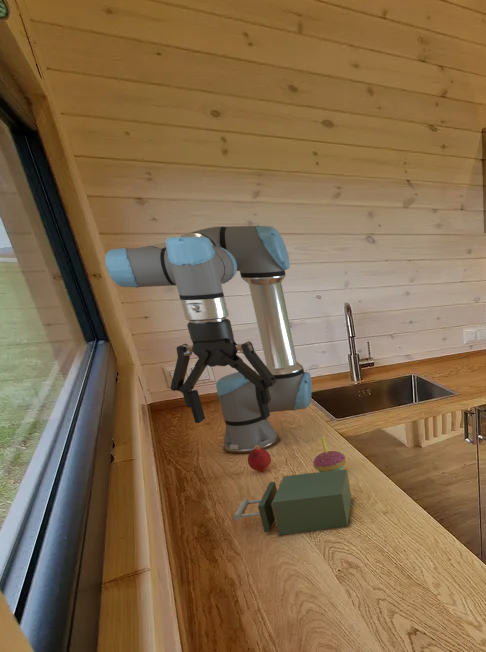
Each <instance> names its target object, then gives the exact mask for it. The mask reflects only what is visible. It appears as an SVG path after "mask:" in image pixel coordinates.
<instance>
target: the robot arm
mask: <svg viewBox="0 0 486 652" xmlns="http://www.w3.org/2000/svg"><path fill="white" fill-rule="evenodd" d="M104 263H105V268H106V270H107V273H108V276H109V277H110V279H111V280H112V282H113V283H114V284H116V285H117V286H120V287H122V288H136V289H138V288H149V287H150V288H152V287H169V286H170V287H171V286H172V287H173V286H174V287H176V289H177V293H178V297H179V300H180V304H181V308H182V312H183V315H184V318H185V320H187V321H188V322H187V324H186V326H187V330H188V334H189V337H190V340H191V343H192V345H189V344H187V343H183V344H181V345H178V346H176V355H177V358H176V363H175V366H174V372H173V375H172V379H171V382H170V383H171V384H170V390H171V391H173V392H176V391H177V392H180V393H181V394H182V395H183V399H184V402H185V406H186V407H187V408H190V409H191V413H192V416H193V420H194V423H195V424H200V423H201V422H203V421H204V420H205V419H206V416H205V412H204V409H203V406H202V402H201V399H200V395H199V392H198V389H195V386H196V385H197V383H198V381H199V380H200V378H201V376H202V374H203V373H204V371H205V369H206V368H207V367H208V366H209V367H210V368H211V367H226V366H229V367H231V368H232V369H235V370H236V372H233V373H229V374H227V375H224V376H222V377H221V378H219V379H218V380H217V381H216V382H215V387H216V392H217V394H216V396H217V397H218V402H219V405H220V409H221V413H222V417H223V420H224V423H225V430H224V439H223V445H224V449H225V451H226V452H227V453H230V454H239V455H240V454H250V453H251V451H252V450H254V448H255V446H257V445H258V446H260V447H259V448H260V449H264V450H265V449H269V448H270V447H272V446H274V445H275V444H276V443H278V440H279V437H278V433H277V432H276V430H275V429H274V427H273V426H272V424H271V423H270V421H269V419H268V418H269V417H270V416H271V413H277V412H287V411H299V410H305V409H307V408H308V407H310V405H311V401H312V393H313V384H312V383H313V382H312V376H311V372H309V371H305V369H304V366H303V365H302V364H301V363H300V362H298V361H297V356H296V351H295V344H294V341H293V336H292V330H291V324H290V321H289V320H290V319H289V316H288V310H287V304H286V299H285V293H284V289H283V284H282V282H283V280H284V279H285V277H287V275H286V271H287V270H289V269H290V268H291V267H290V266H291V263H290V257H289V253H288V250H287V246H286V244H285V241H284V238H283V237H282V235H281V233H280V232H279V230H278V229H276V228H275V227H274V226H270V225H269V226H268V225H243V226H242V225H237V226H235V225H233V226H211V227H206V228H202V229H198V230H195V231H191V232H186V233H184V234H182V235H180V236H170V237H168V238H166V240H165V242H160V243H156V244H151V245H146V246H139V247H130V248H129V247H128V248H126V247H122V248H112V249H109V250H108V251H107V252H106V253H105V260H104ZM237 272H239V274H240V278H241V280H243V281H244V282H246V283H247V284H248V287H249V292H250V296H251V301H252V305H253V310H254V314H255V315H254V316H255V319H256V323H257V328H258V332H259V333H258V334H259V338H260V341H261V347H262V350H263V356H264V360H265V363H264V362H263V360H262V359H261V358H260V356H259V355H258V354H257V352H256V351H255V347H254V345H253V343H252V341H250V340H249V341H245V342H244V343H236V341H235V337H234V332H233V331H234V330H233V326H232V322H231V320H230V319H229V318H228V317H229V315H230V314H229V313H230V312H229V310H228V306H227V303H226V298H225V294H224V290H223V284H226V283H228V282H229V281H230V280H233V278H234V277H235V276H236V274H237ZM238 351H239V352H240V354H242V355H243V356H244V357H245V359H246V360H247V361H248V363H249V364H250V365H251V366H252V368H251V367H250V366H249V365H248V364H247V363H246V362H244V360H243V358H241V356H239V355H238V354H237V353H238ZM193 354H194V355H195V356H196V357H197V358H198V359H197V360H196V362H195V363H194V367H193V368H192V370H191V372H190V373H189V376H187V375H186V374H187V371H188V367H189V364H190V359H191V356H192V355H193ZM186 376H187V378H186ZM185 379H186V380H185Z"/></svg>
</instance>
